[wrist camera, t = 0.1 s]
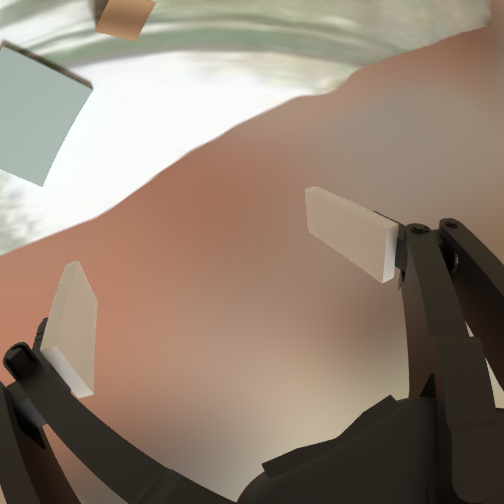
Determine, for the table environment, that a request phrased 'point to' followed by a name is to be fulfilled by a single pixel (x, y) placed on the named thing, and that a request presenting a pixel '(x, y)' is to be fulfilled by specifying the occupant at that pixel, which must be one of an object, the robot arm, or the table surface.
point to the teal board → (34, 114)
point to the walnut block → (124, 18)
